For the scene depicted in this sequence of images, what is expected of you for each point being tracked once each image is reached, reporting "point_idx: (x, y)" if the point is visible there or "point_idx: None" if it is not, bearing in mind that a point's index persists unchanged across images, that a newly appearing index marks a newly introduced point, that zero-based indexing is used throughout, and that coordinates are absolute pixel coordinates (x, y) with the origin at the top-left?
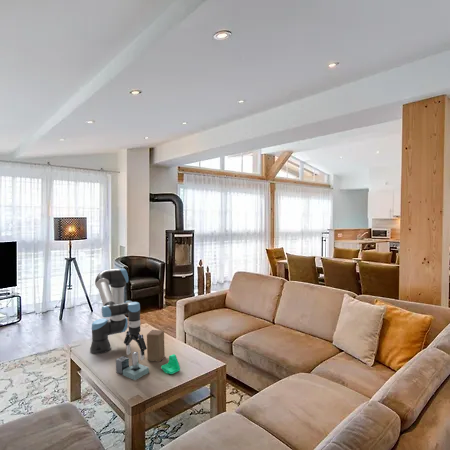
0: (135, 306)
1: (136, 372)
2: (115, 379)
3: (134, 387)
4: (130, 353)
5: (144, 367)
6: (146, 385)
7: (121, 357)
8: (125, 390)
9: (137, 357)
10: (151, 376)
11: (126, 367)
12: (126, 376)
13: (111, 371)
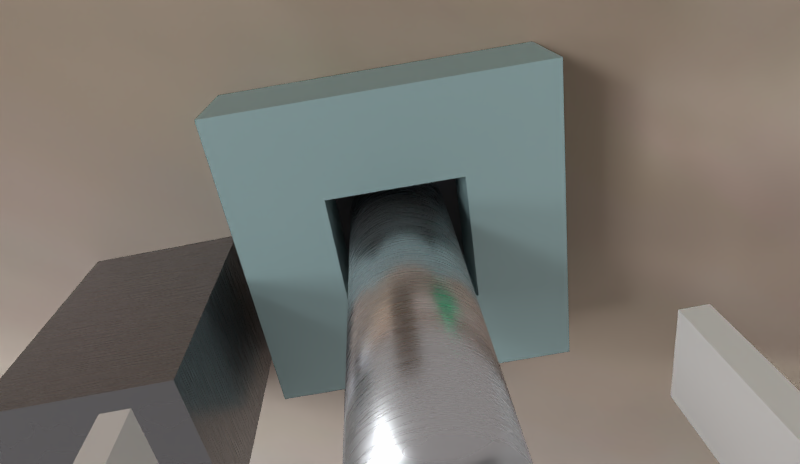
0: None
1: (527, 300)
2: (330, 436)
3: None
4: (130, 415)
5: (492, 118)
6: (775, 264)
7: (32, 461)
8: (632, 451)
9: (508, 392)
10: (669, 87)
11: (236, 324)
12: None
13: None
